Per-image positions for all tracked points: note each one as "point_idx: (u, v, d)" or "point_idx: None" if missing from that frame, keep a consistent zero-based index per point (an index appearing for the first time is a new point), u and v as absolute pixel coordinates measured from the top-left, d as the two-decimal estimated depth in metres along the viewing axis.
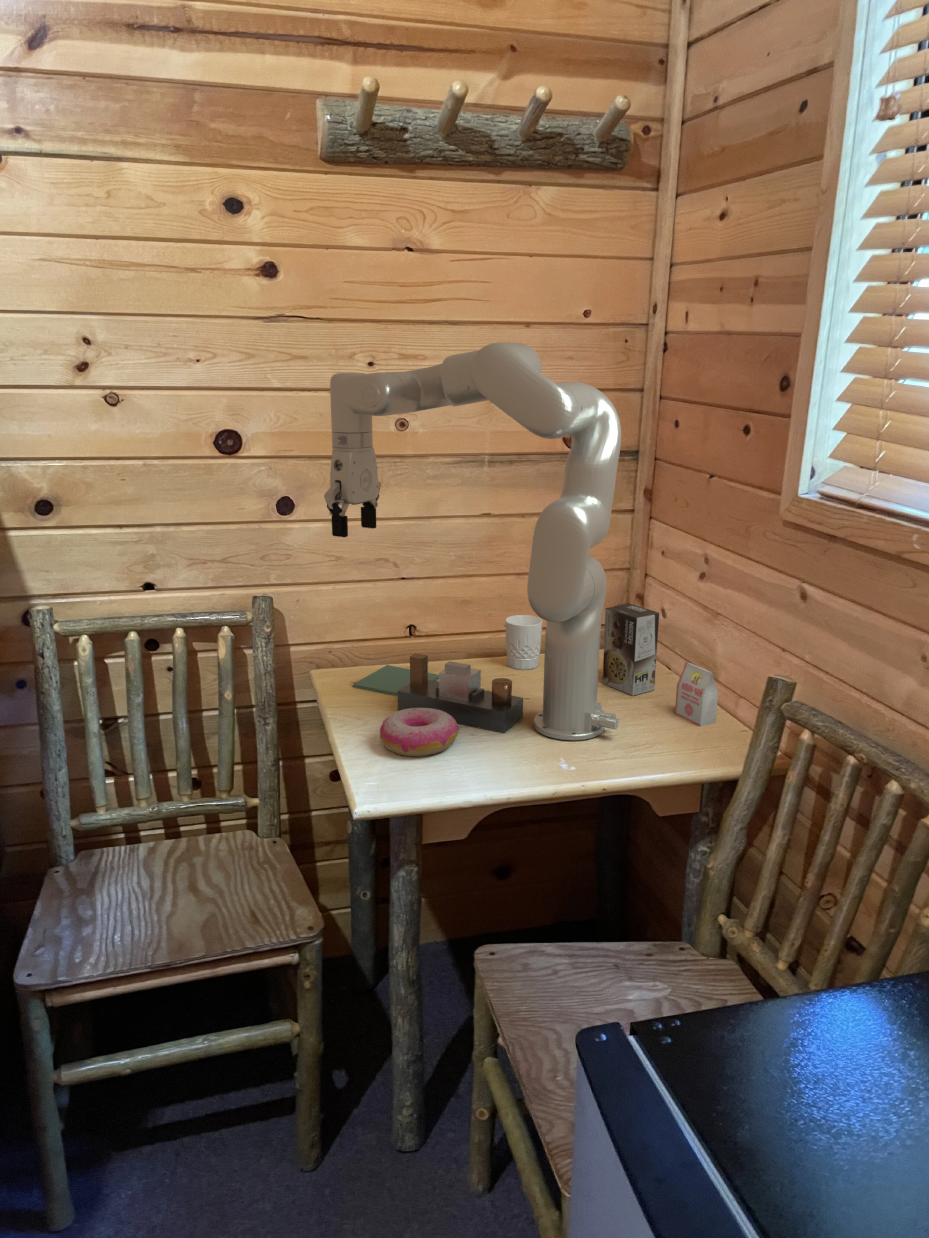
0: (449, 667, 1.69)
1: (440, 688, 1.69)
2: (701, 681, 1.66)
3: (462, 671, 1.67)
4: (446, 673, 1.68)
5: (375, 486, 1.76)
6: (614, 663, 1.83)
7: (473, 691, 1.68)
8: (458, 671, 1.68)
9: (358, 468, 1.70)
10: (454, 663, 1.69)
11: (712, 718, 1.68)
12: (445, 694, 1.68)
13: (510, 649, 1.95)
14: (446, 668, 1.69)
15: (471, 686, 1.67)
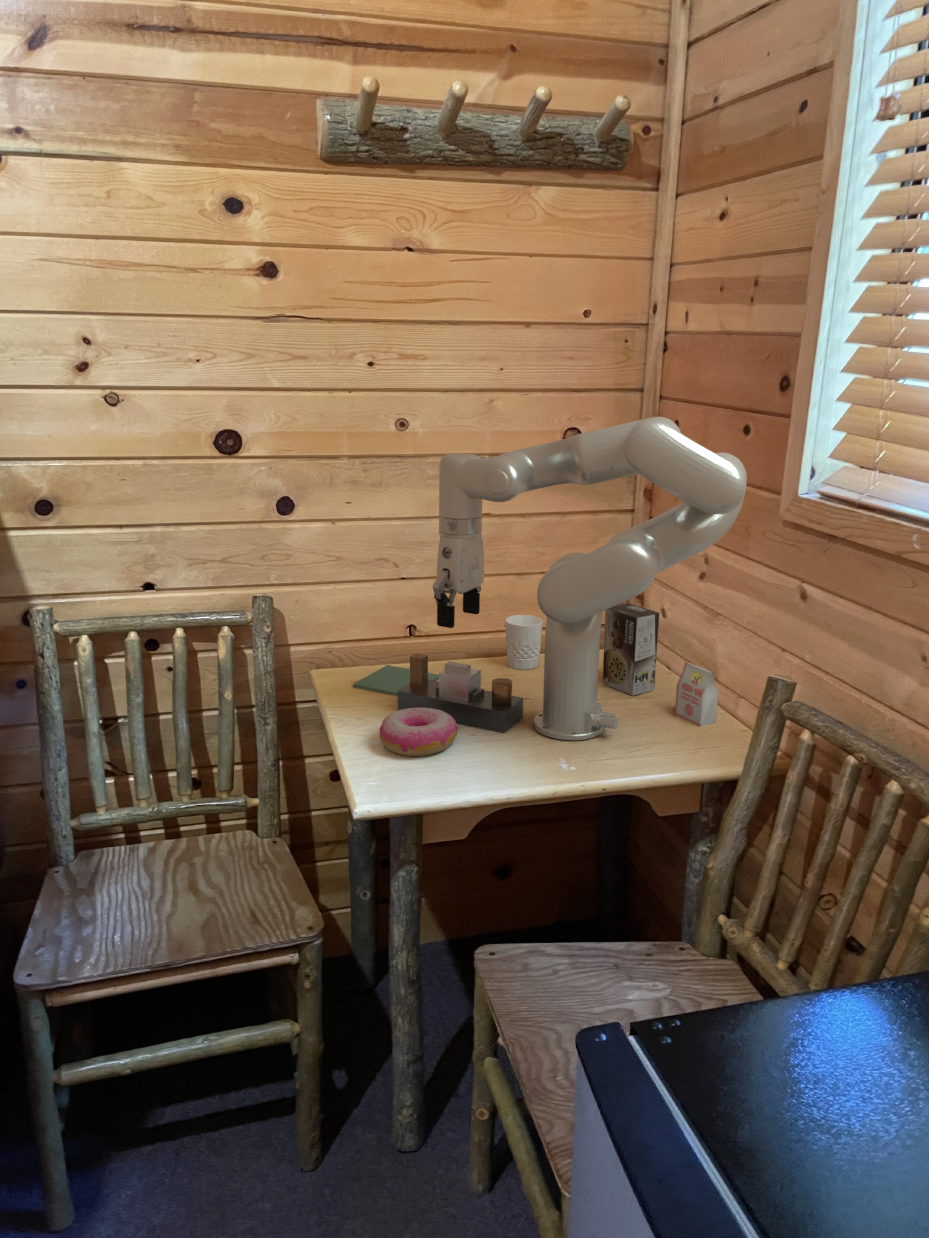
0: (449, 667, 1.69)
1: (440, 688, 1.69)
2: (701, 681, 1.66)
3: (462, 671, 1.67)
4: (446, 673, 1.68)
5: (481, 571, 1.65)
6: (614, 663, 1.83)
7: (473, 691, 1.68)
8: (458, 671, 1.68)
9: (468, 555, 1.59)
10: (454, 663, 1.69)
11: (712, 718, 1.68)
12: (445, 694, 1.68)
13: (510, 649, 1.95)
14: (446, 668, 1.69)
15: (471, 686, 1.67)
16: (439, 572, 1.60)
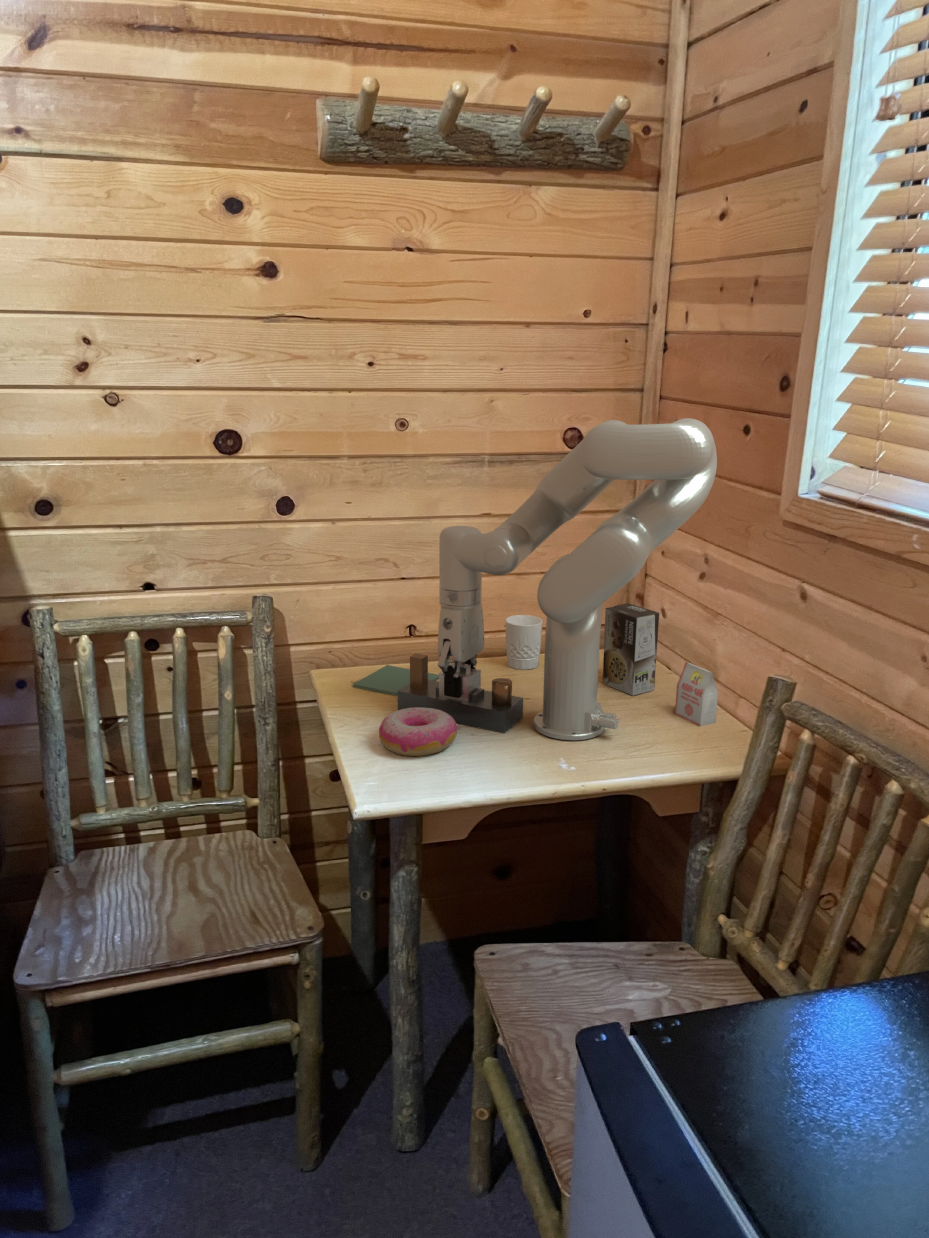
0: None
1: (440, 688, 1.69)
2: (701, 681, 1.66)
3: (462, 671, 1.67)
4: None
5: (481, 639, 1.69)
6: (614, 663, 1.83)
7: (473, 691, 1.68)
8: None
9: (468, 625, 1.63)
10: (454, 663, 1.69)
11: (712, 718, 1.68)
12: None
13: (510, 649, 1.95)
14: None
15: (471, 686, 1.67)
16: (440, 642, 1.63)
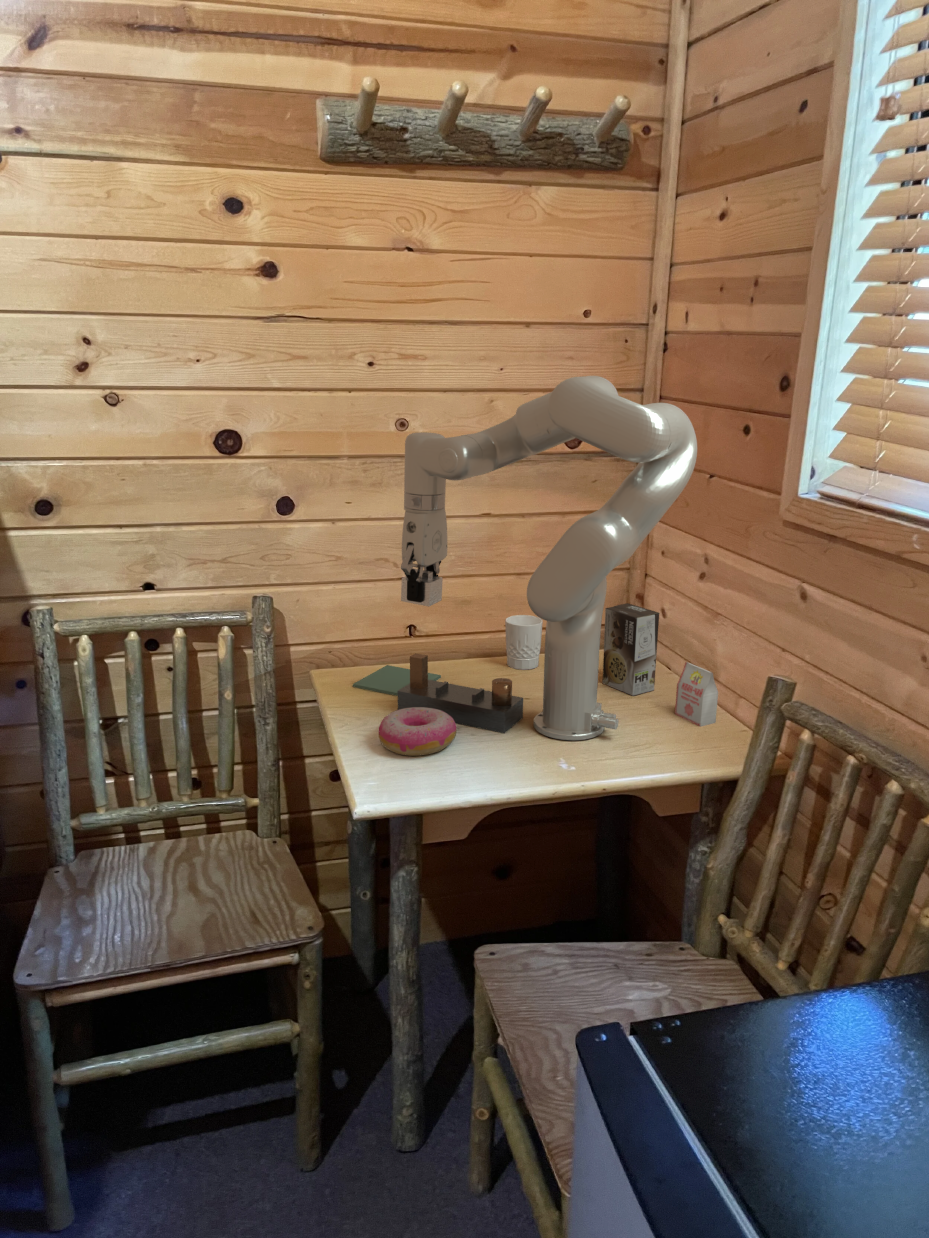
0: None
1: (402, 593, 1.73)
2: (701, 681, 1.66)
3: (424, 577, 1.72)
4: None
5: (445, 546, 1.73)
6: (614, 663, 1.83)
7: (434, 597, 1.72)
8: None
9: (431, 530, 1.67)
10: None
11: (712, 718, 1.68)
12: None
13: (510, 649, 1.95)
14: None
15: (432, 591, 1.71)
16: (404, 546, 1.67)
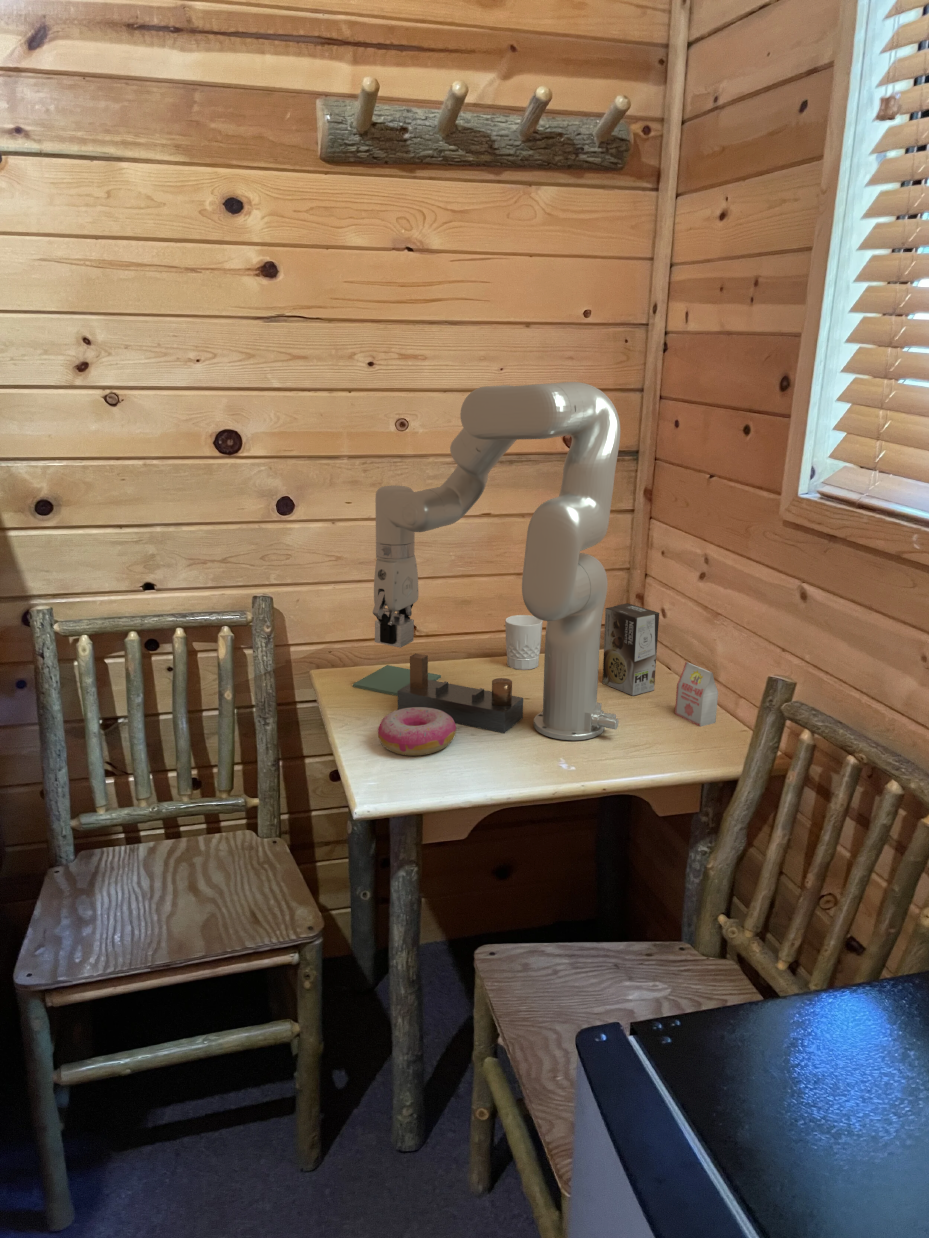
0: None
1: (376, 635, 1.84)
2: (701, 681, 1.66)
3: (396, 620, 1.82)
4: None
5: (415, 591, 1.84)
6: (614, 663, 1.83)
7: (406, 639, 1.83)
8: None
9: (401, 577, 1.78)
10: None
11: (712, 718, 1.68)
12: None
13: (510, 649, 1.95)
14: None
15: (403, 633, 1.82)
16: (375, 592, 1.78)
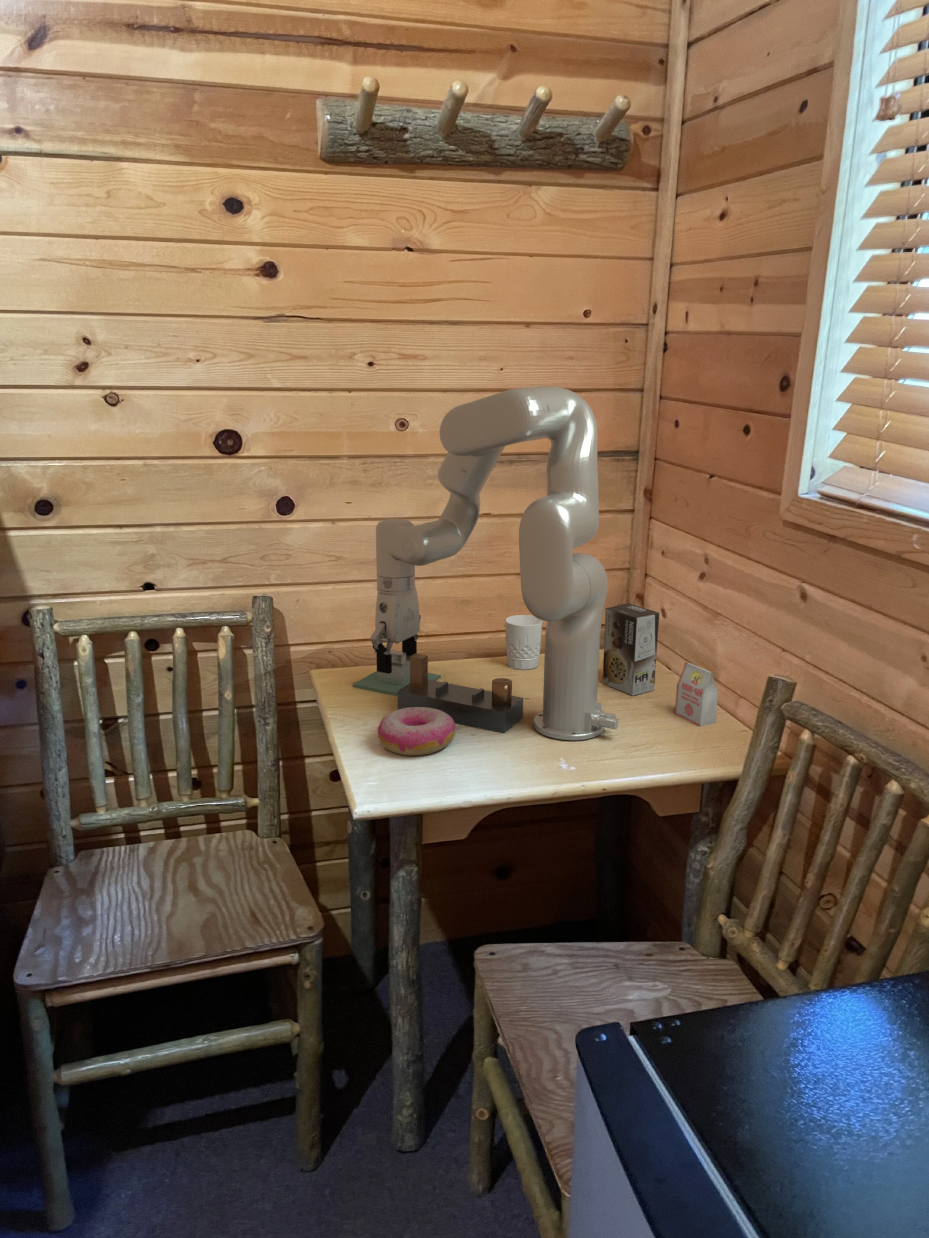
0: None
1: (378, 674, 1.86)
2: (701, 681, 1.66)
3: (398, 658, 1.84)
4: None
5: (417, 622, 1.85)
6: (614, 663, 1.83)
7: (408, 676, 1.85)
8: (394, 658, 1.85)
9: (402, 609, 1.79)
10: (391, 651, 1.86)
11: (712, 718, 1.68)
12: (383, 679, 1.86)
13: (510, 649, 1.95)
14: None
15: (405, 671, 1.84)
16: (377, 624, 1.80)
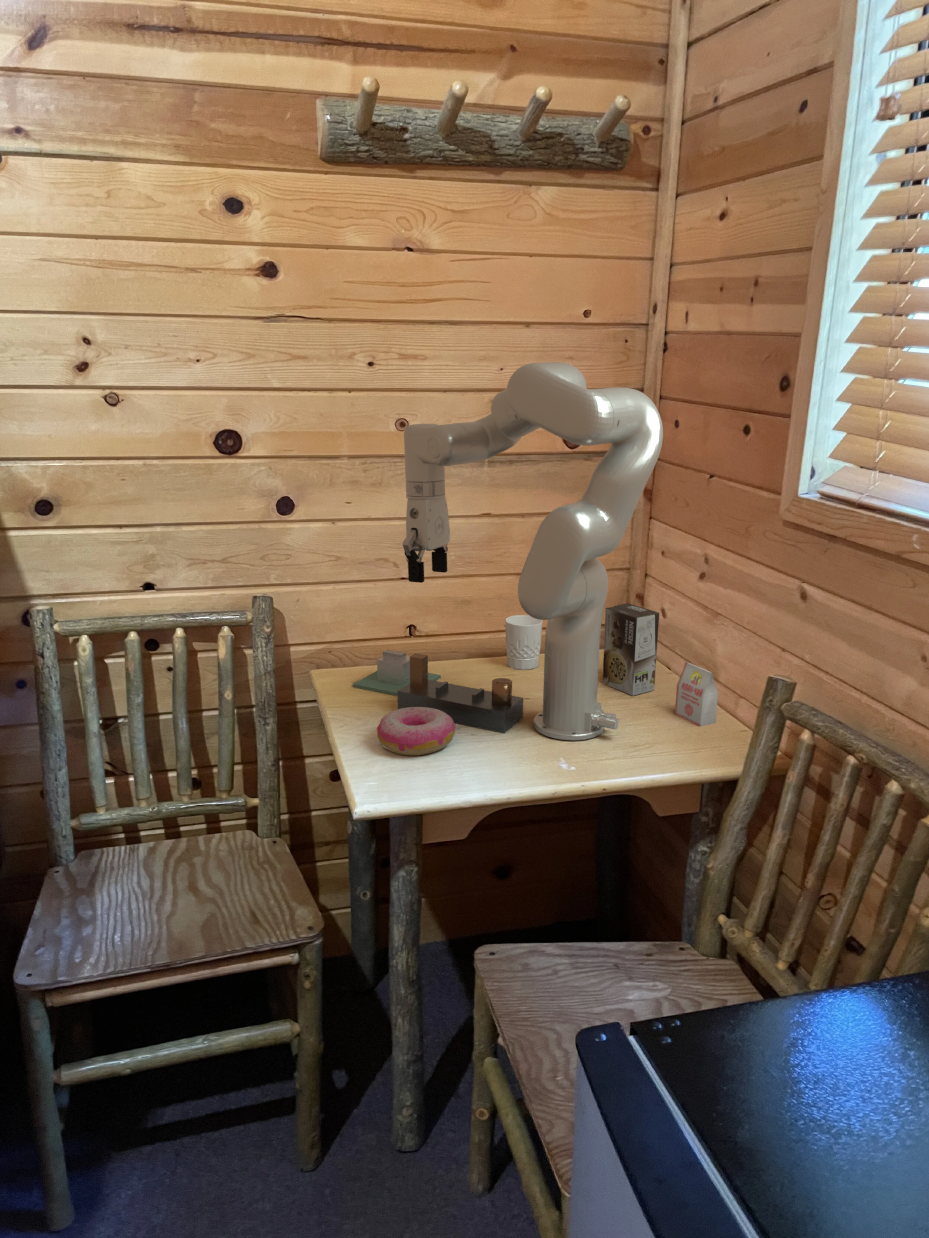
0: (386, 655, 1.86)
1: (378, 674, 1.86)
2: (701, 681, 1.66)
3: (398, 658, 1.84)
4: (383, 660, 1.85)
5: (447, 532, 1.81)
6: (614, 663, 1.83)
7: (408, 676, 1.85)
8: (394, 658, 1.85)
9: (433, 515, 1.75)
10: (391, 651, 1.86)
11: (712, 718, 1.68)
12: (383, 679, 1.86)
13: (510, 649, 1.95)
14: (384, 655, 1.86)
15: (405, 671, 1.84)
16: (408, 532, 1.75)
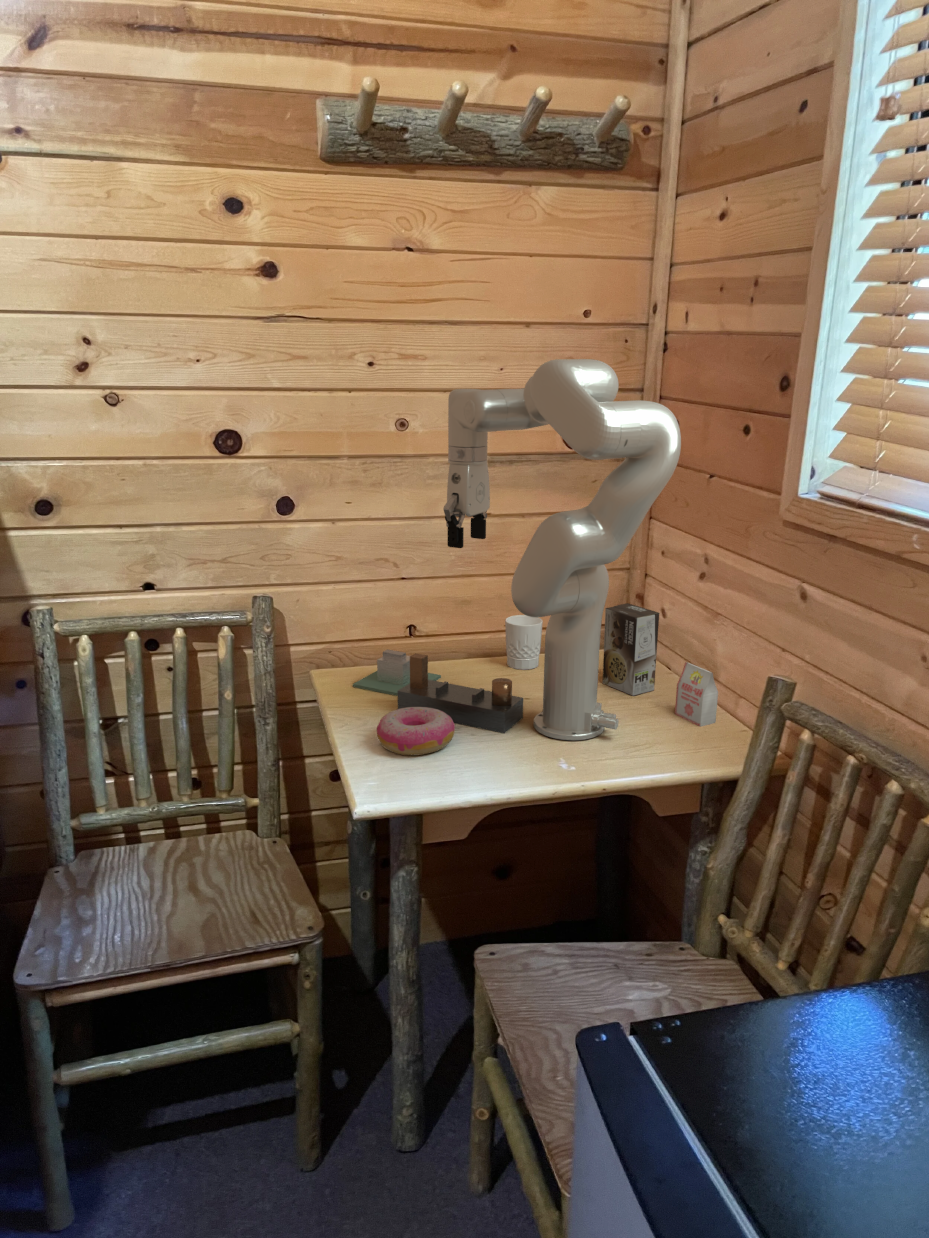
0: (386, 655, 1.86)
1: (378, 674, 1.86)
2: (701, 681, 1.66)
3: (398, 658, 1.84)
4: (383, 660, 1.85)
5: (487, 498, 1.81)
6: (614, 663, 1.83)
7: (408, 676, 1.85)
8: (394, 658, 1.85)
9: (475, 481, 1.75)
10: (391, 651, 1.86)
11: (712, 718, 1.68)
12: (383, 679, 1.86)
13: (510, 649, 1.95)
14: (384, 655, 1.86)
15: (405, 671, 1.84)
16: (449, 497, 1.76)
